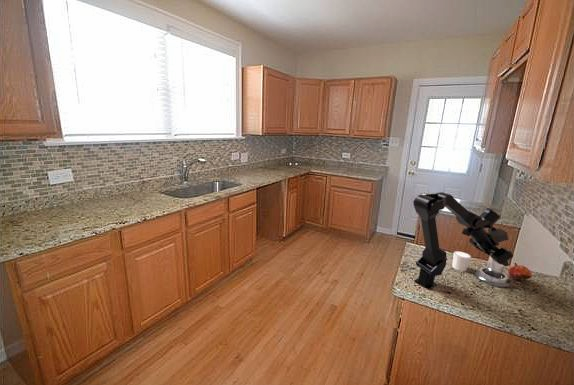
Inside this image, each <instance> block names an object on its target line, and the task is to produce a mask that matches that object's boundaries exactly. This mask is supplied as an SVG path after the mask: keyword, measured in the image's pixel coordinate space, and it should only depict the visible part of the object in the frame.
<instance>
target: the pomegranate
mask: <svg viewBox="0 0 574 385" xmlns="http://www.w3.org/2000/svg"><path fill="white" fill-rule="evenodd" d="M513 264H514V265H513V266H511V267H509V270H508V273H507V274H508V276H509V277H510V278H511V279H512V280H519V281H521V282H522V285H523V286H525V284H524V281H526V280H528V279H531V278H532V277H533V276H532V275H533V274H532V272H531V270H530V269H529V268H528V267H526V266H525V265H521V264H520V265H518V264H517V263H516V262H514V263H513Z"/></svg>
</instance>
